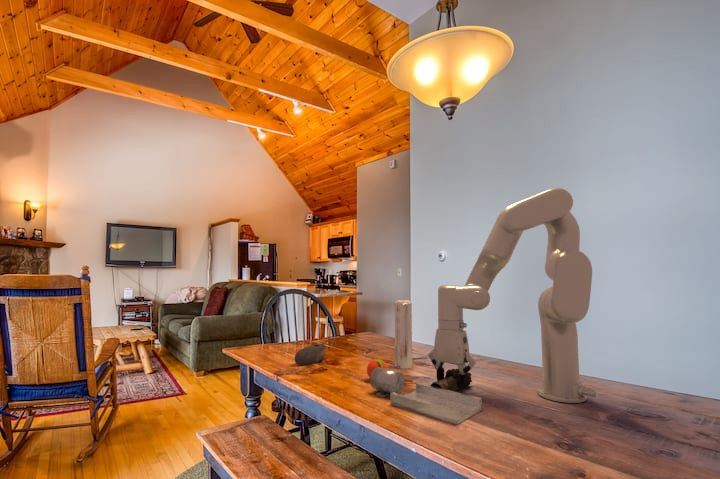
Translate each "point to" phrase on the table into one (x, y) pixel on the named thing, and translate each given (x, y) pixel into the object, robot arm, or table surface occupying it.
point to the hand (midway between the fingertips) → (451, 384)
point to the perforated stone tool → (310, 354)
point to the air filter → (403, 334)
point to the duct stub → (386, 381)
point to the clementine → (375, 365)
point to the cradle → (438, 403)
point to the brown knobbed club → (451, 380)
